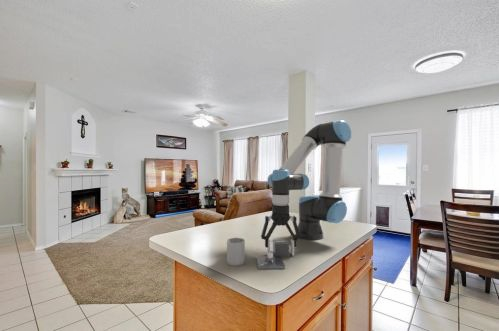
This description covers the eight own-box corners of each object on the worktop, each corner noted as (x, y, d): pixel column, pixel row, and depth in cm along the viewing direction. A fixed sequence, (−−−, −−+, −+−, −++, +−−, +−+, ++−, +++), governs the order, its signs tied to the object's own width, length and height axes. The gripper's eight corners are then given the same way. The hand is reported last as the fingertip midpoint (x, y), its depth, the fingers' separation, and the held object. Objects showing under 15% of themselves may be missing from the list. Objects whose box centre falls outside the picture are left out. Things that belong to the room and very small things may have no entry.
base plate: (280, 258, 96) (280, 248, 96) (285, 268, 86) (285, 256, 86) (256, 259, 95) (256, 248, 95) (258, 269, 85) (258, 257, 85)
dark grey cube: (286, 252, 103) (286, 238, 103) (289, 257, 97) (289, 243, 97) (273, 252, 103) (273, 239, 103) (275, 257, 97) (275, 243, 97)
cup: (230, 267, 87) (230, 244, 87) (222, 258, 96) (222, 237, 96) (247, 264, 90) (247, 241, 90) (238, 255, 99) (238, 235, 99)
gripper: (303, 202, 105) (303, 251, 104) (254, 203, 104) (254, 251, 103) (308, 205, 97) (308, 257, 97) (256, 205, 96) (255, 258, 96)
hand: (280, 254), depth 100 cm, fingers open, 10 cm apart
